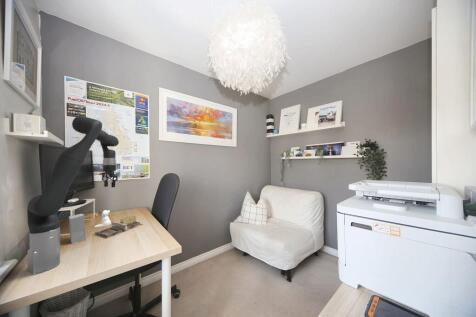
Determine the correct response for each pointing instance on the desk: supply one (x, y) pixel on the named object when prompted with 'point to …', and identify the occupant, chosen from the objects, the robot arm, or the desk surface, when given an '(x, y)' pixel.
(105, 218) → the white creature statuette
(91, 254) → the desk surface
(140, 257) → the desk surface
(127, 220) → the stop bar
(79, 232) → the skincare box
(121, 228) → the lock board
